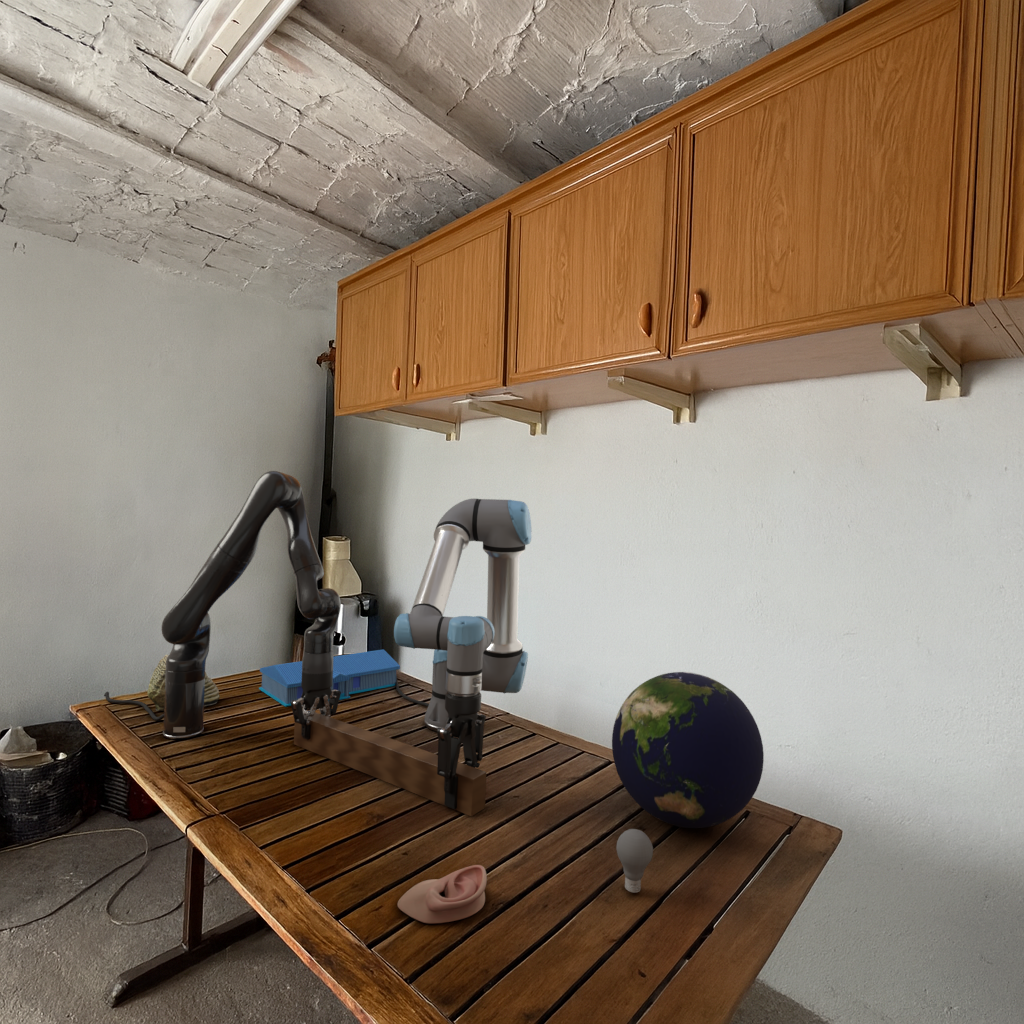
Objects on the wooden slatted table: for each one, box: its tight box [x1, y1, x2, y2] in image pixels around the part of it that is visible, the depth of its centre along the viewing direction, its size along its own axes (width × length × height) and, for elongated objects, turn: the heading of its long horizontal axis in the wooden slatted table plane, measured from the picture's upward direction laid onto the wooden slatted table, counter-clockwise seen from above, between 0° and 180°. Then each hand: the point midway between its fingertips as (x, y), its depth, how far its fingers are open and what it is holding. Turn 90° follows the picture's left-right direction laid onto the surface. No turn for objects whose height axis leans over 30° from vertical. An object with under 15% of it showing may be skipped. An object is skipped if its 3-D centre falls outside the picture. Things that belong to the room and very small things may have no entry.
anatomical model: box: [396, 864, 488, 925], centre depth 101 cm, size 13×4×12 cm
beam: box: [293, 709, 487, 817], centre depth 146 cm, size 57×5×8 cm, turn 56°
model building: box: [258, 649, 401, 707], centre depth 208 cm, size 39×24×10 cm, turn 132°
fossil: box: [147, 654, 221, 712], centre depth 185 cm, size 9×18×15 cm, turn 132°
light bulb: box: [615, 828, 654, 894], centre depth 106 cm, size 6×6×10 cm
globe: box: [611, 671, 765, 829], centre depth 130 cm, size 30×30×30 cm
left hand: (315, 735), depth 160 cm, fingers closed on beam, 4 cm apart
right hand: (458, 801), depth 133 cm, fingers closed on beam, 5 cm apart
